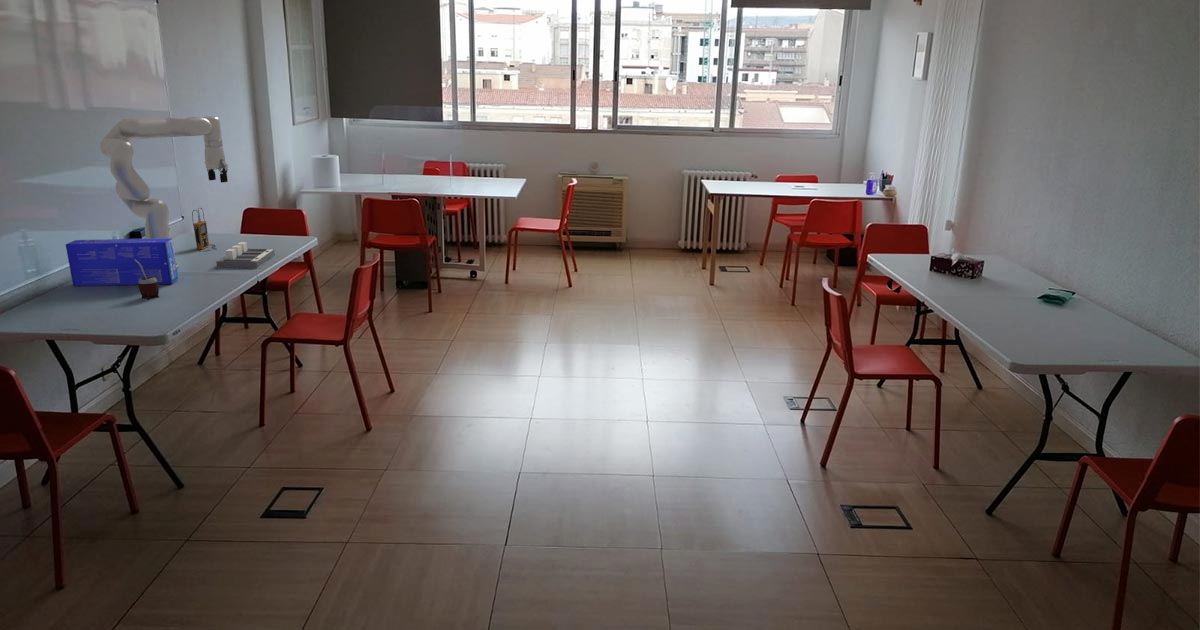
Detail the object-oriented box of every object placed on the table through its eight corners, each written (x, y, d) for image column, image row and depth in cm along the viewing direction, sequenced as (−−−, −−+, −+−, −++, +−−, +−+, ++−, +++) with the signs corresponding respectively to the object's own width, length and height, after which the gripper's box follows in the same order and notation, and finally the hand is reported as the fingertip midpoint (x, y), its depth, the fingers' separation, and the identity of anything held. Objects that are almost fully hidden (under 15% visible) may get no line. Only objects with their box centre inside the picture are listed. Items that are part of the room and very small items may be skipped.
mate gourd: (158, 299, 321) (152, 262, 317) (135, 300, 319) (129, 263, 314) (162, 294, 328) (156, 258, 323) (140, 295, 326) (134, 259, 321)
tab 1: (233, 259, 371) (232, 250, 369) (226, 259, 371) (225, 250, 369) (236, 257, 375) (235, 248, 373) (229, 257, 374) (228, 248, 373)
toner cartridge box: (179, 279, 349) (173, 237, 343) (172, 285, 341) (165, 242, 335) (82, 281, 344) (74, 238, 338) (72, 286, 336) (64, 243, 330)
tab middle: (238, 255, 377) (237, 247, 376) (232, 255, 377) (231, 247, 376) (242, 253, 381) (241, 245, 380) (235, 253, 381) (234, 245, 380)
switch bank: (257, 268, 369) (256, 260, 368) (216, 267, 369) (215, 260, 367) (274, 255, 392) (274, 248, 391) (236, 255, 391) (235, 247, 390)
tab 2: (244, 252, 384) (243, 244, 383) (238, 252, 384) (237, 243, 383) (247, 250, 388) (246, 242, 387) (241, 250, 388) (240, 242, 386)
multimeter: (213, 252, 397) (208, 211, 390) (193, 251, 397) (187, 211, 391) (227, 245, 411) (222, 206, 404) (207, 244, 411) (202, 205, 405)
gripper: (195, 143, 376) (200, 180, 382) (216, 146, 367) (221, 184, 372) (210, 142, 382) (215, 178, 387) (231, 144, 373) (236, 182, 378)
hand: (218, 181), depth 380 cm, fingers open, 9 cm apart
